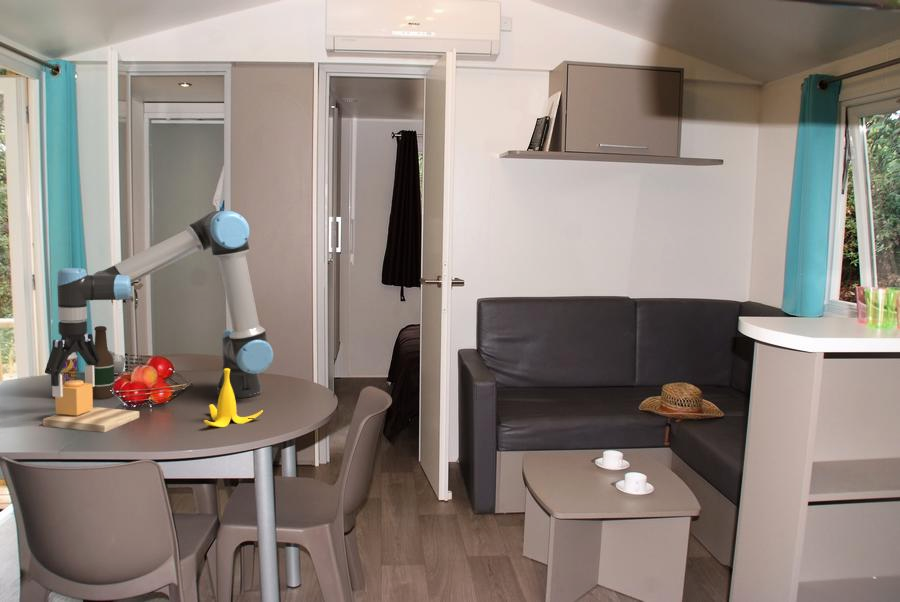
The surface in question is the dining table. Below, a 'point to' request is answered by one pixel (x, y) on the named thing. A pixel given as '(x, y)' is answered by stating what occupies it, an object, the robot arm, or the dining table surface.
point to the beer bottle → (103, 367)
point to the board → (93, 419)
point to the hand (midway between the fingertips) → (74, 391)
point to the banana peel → (227, 406)
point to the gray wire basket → (122, 362)
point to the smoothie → (69, 368)
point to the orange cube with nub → (75, 398)
